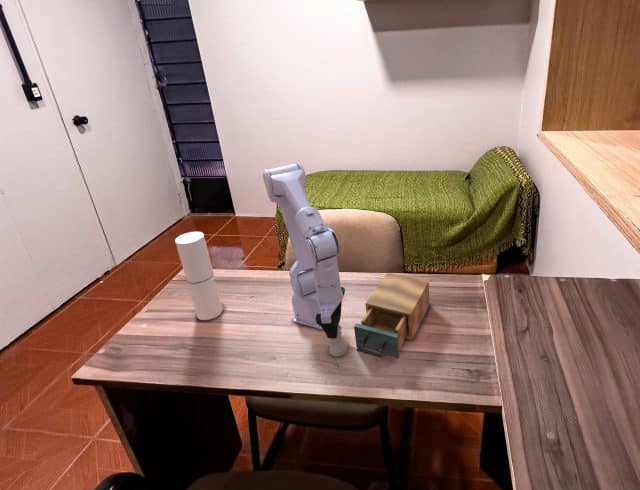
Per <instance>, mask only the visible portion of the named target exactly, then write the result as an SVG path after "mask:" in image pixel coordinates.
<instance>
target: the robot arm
mask: <svg viewBox="0 0 640 490" xmlns="http://www.w3.org/2000/svg"><path fill="white" fill-rule="evenodd" d="M305 171H306V170H305V168H304V167H303V165H302V164H300V163H299V162H296V163H294V164H293V163H292V164H289V165H284V166H280V167H275V168H269V169H264V171H263V173H262V178H263V183H264V186H265V189H266V193H267V196H268V198H269V201H270V202H271V203H275V204H277V205H278V207H279V209H280V211H281V214H282V218H283V220H284V221H283V222H284V224H285V227H286V231H287V234H288V237H289V241H290V245H291V247H292V251H293V254H294V257H295V262H294V263H293V265H292V266H291V267H290V269H289V272H288V275H289V278H290V284H291V287H292V291H293V294H292V297H291V304H292V305H291V306H292V309H293V314H294V319H293V322H294V323H297V324H301V325H303V326H304V325H305V326H308V327H312V328H315V329H318V330H323V332H324V334H325V336H326V337H327V339H328V340H329V339H330V340H331V339H335V338H337V333H338V324H339V323H340V322H341V318H342V317H341V316H342V305H343V299H344V296H345V293H346V288H345V287H344V286H342V285H341V284H342V283H341V278H340V268H339V262H338V255H339V254H340V253H341V246H340V241H339V238H338V236H337V234H336V232H335V231H334V230H333V229H332V228H331V227H330V226H327V224H326V223H325V220H324V219H323V217H322V215H321V214H320V211H319V210H318V209H317V208H316V207H314V206H311V204H310V201H309V199H308V196H307V194H306V192H305V189H306V183H307V175H306V172H305Z"/></svg>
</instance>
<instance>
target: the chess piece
mask: <svg viewBox="0 0 640 490" xmlns="http://www.w3.org/2000/svg"><path fill="white" fill-rule="evenodd" d="M329 343H330V344H329V347H328V351H329V353H330V355H331V356H332V357H341V356H343V355H344V354H345V353H346V352H347V350H348V347H347V344H346V342H345V341H344V340H343V338H342V326H341V325H340V324H339V323H338V333H337V338H335V339H330V342H329Z"/></svg>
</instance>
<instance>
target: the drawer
mask: <svg viewBox="0 0 640 490" xmlns="http://www.w3.org/2000/svg"><path fill="white" fill-rule="evenodd" d="M353 330H354V337H355V338H354V339H355V345H356V346H355V347H356V351H357V352H358V353H361V354H365V355H369V356H372V357H376V358H379V359H381V358H382V356H385V357H389V358H393V359H396V360H399V359H400V357H401V348H402V346H403V345H404V342H405V341H406V339H405V338H406V337H407V335H408V333H409V325H408V316H407V315H403V314H399V313H394V312H390V311H386V310H382V309H378V308H373V307H371V308H370V309H369V310H368V312H367V313H366V312H365V315H364V316H363V317H362V318H361V321H360V323H357V322H356V323H355V324H354V325H353Z"/></svg>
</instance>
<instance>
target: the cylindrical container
mask: <svg viewBox="0 0 640 490" xmlns="http://www.w3.org/2000/svg"><path fill="white" fill-rule="evenodd" d="M174 242H175V245H176V250H177V253H178V257H179V260H180V263H181V266H182V270H183V274H184V276H185V277H184V278H185V280H186V283H187V288H188V291H189V294H190V297H191V300H192V304H193V307H194V311H195V314H196V317H197V319H198V320H201V321H209V320H212V319H215V318H217V317H219V316H220V315H221V314H222V312H223V309H224V308H223V304H222V301H221V300H222V299H221V297H220V293H219V289H218V284H217V281H216V276H215V273H214V269H213V266H212V262H211V258H210V254H209V250H208V245H207V241H206V239H205V234H204V232H202V231H190V232H186V233H183V234H180V235H179V236H177V237H176V238H175V240H174Z"/></svg>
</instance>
